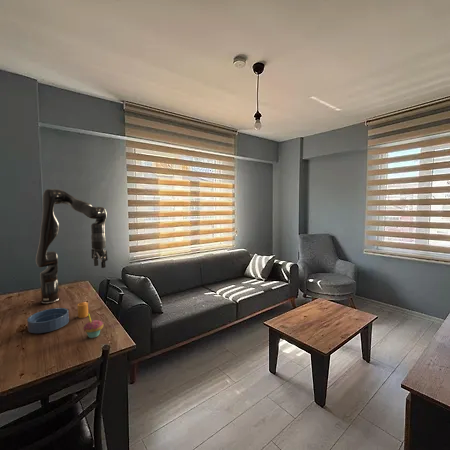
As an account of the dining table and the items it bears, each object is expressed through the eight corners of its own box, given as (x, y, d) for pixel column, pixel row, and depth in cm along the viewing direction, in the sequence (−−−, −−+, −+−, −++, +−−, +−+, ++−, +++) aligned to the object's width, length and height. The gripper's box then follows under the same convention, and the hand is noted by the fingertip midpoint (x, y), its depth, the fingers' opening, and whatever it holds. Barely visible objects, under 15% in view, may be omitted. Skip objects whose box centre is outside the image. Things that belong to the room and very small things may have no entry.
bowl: (37, 320, 136) (36, 309, 135) (73, 316, 141) (73, 306, 140) (20, 336, 119) (20, 324, 118) (62, 331, 124) (61, 320, 123)
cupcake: (83, 341, 114) (82, 316, 114) (84, 333, 122) (83, 310, 121) (104, 337, 118) (102, 313, 117) (103, 329, 126) (102, 306, 125)
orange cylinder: (79, 314, 143) (78, 301, 142) (89, 313, 144) (88, 300, 144) (76, 318, 138) (76, 304, 137) (87, 317, 139) (86, 303, 139)
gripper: (110, 240, 146) (112, 267, 147) (98, 238, 154) (100, 264, 155) (98, 241, 140) (99, 269, 141) (86, 240, 148) (87, 266, 149)
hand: (99, 266), depth 148 cm, fingers open, 8 cm apart
